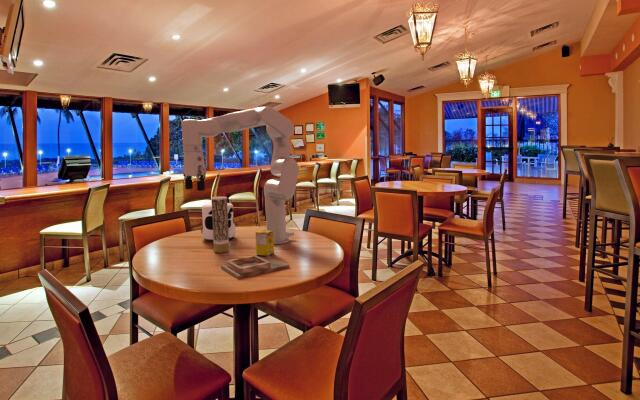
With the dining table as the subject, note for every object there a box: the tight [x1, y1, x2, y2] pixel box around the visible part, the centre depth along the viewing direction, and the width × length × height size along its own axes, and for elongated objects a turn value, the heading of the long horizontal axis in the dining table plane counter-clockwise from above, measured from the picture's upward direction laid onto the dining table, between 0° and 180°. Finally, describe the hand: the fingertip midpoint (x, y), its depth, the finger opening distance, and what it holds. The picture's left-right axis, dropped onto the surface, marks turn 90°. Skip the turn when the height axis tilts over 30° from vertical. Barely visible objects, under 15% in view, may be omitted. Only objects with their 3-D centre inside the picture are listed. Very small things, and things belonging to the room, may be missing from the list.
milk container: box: [200, 202, 237, 242], centre depth 204 cm, size 17×17×18 cm
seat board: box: [220, 254, 290, 280], centre depth 157 cm, size 22×16×3 cm
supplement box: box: [255, 229, 275, 257], centre depth 175 cm, size 6×6×11 cm
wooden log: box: [211, 196, 230, 254], centre depth 181 cm, size 7×7×25 cm
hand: (195, 189), depth 169 cm, fingers open, 9 cm apart
